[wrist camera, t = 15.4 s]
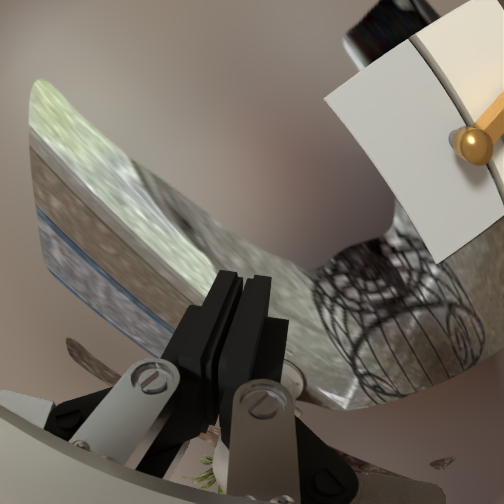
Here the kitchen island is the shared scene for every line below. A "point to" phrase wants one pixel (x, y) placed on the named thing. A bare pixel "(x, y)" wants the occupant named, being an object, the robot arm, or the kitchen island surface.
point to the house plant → (207, 476)
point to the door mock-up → (433, 123)
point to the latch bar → (481, 135)
